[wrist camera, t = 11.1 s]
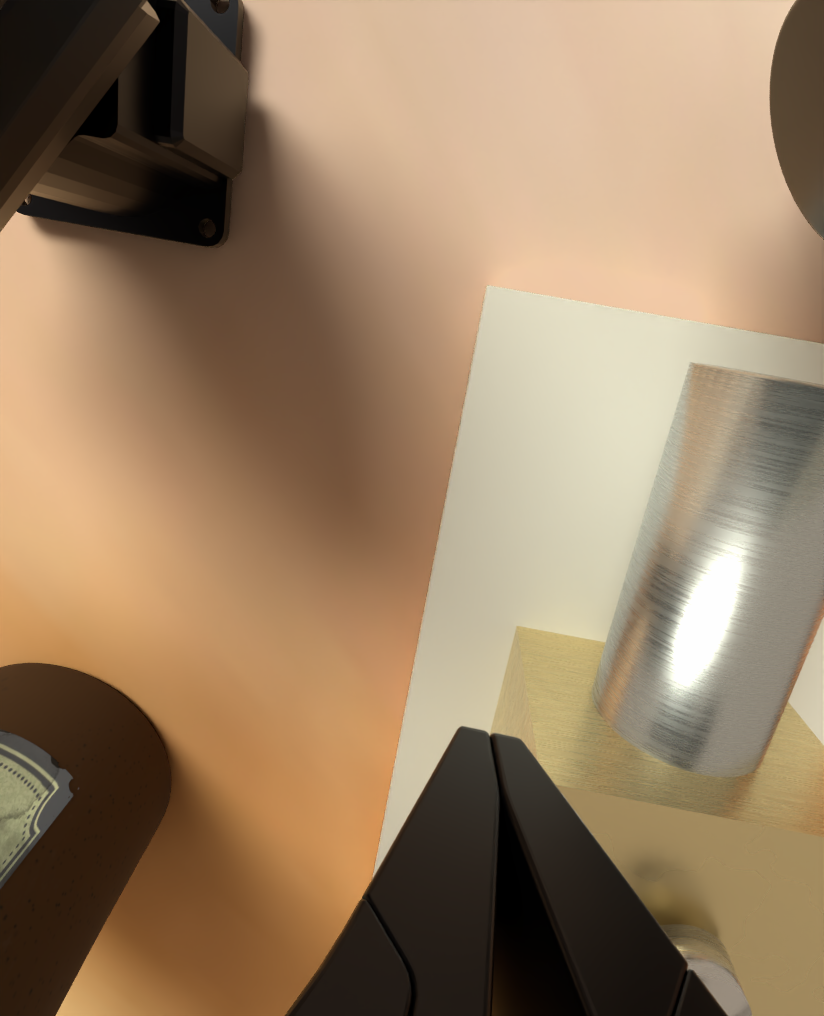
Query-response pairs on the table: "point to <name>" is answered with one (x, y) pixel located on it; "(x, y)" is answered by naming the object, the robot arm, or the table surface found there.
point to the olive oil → (67, 823)
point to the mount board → (555, 500)
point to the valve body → (706, 688)
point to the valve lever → (710, 966)
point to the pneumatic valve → (801, 107)
